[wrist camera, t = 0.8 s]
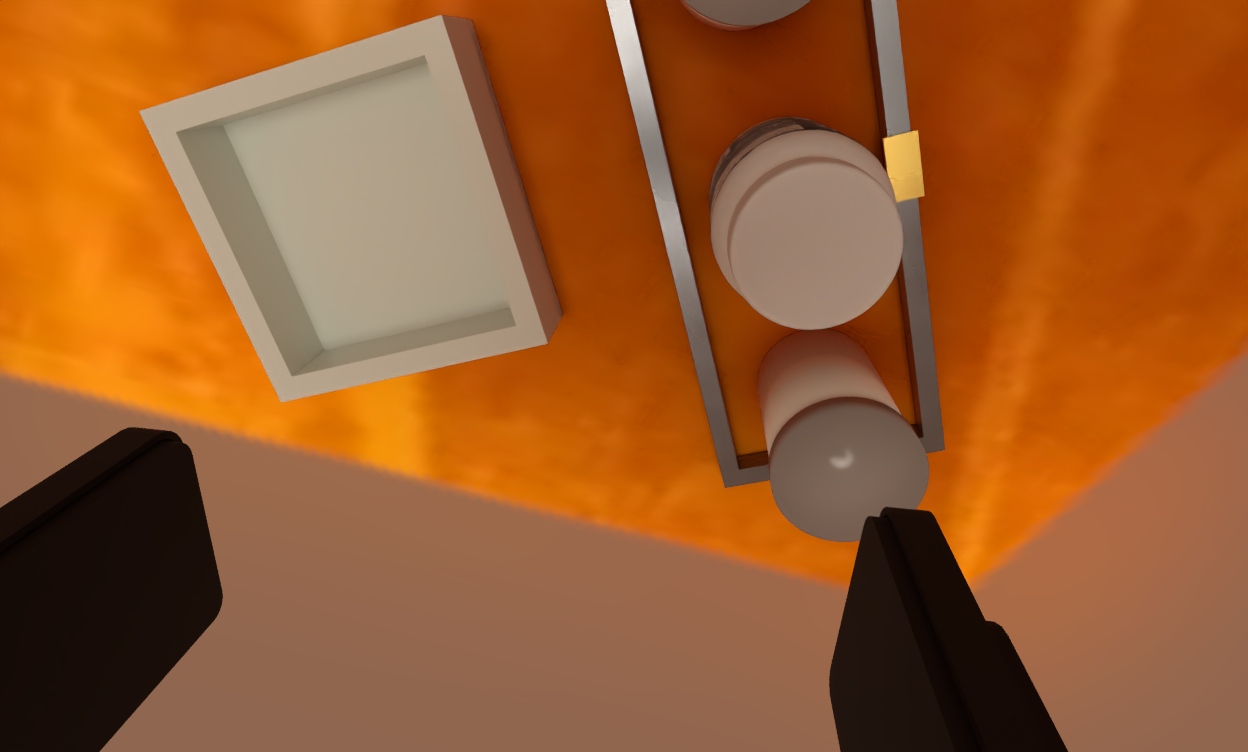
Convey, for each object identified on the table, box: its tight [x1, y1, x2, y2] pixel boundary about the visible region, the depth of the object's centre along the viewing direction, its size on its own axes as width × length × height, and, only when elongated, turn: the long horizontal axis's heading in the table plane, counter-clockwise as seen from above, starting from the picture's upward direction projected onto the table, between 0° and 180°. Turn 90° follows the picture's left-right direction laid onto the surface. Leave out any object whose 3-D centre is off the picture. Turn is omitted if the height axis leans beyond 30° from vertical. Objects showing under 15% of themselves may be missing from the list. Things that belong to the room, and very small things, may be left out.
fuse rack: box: [606, 0, 945, 488], centre depth 28 cm, size 10×25×1 cm, turn 15°
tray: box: [139, 15, 563, 402], centre depth 29 cm, size 12×12×4 cm
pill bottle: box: [709, 117, 903, 330], centre depth 24 cm, size 6×6×10 cm
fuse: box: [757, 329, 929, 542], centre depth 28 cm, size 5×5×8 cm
